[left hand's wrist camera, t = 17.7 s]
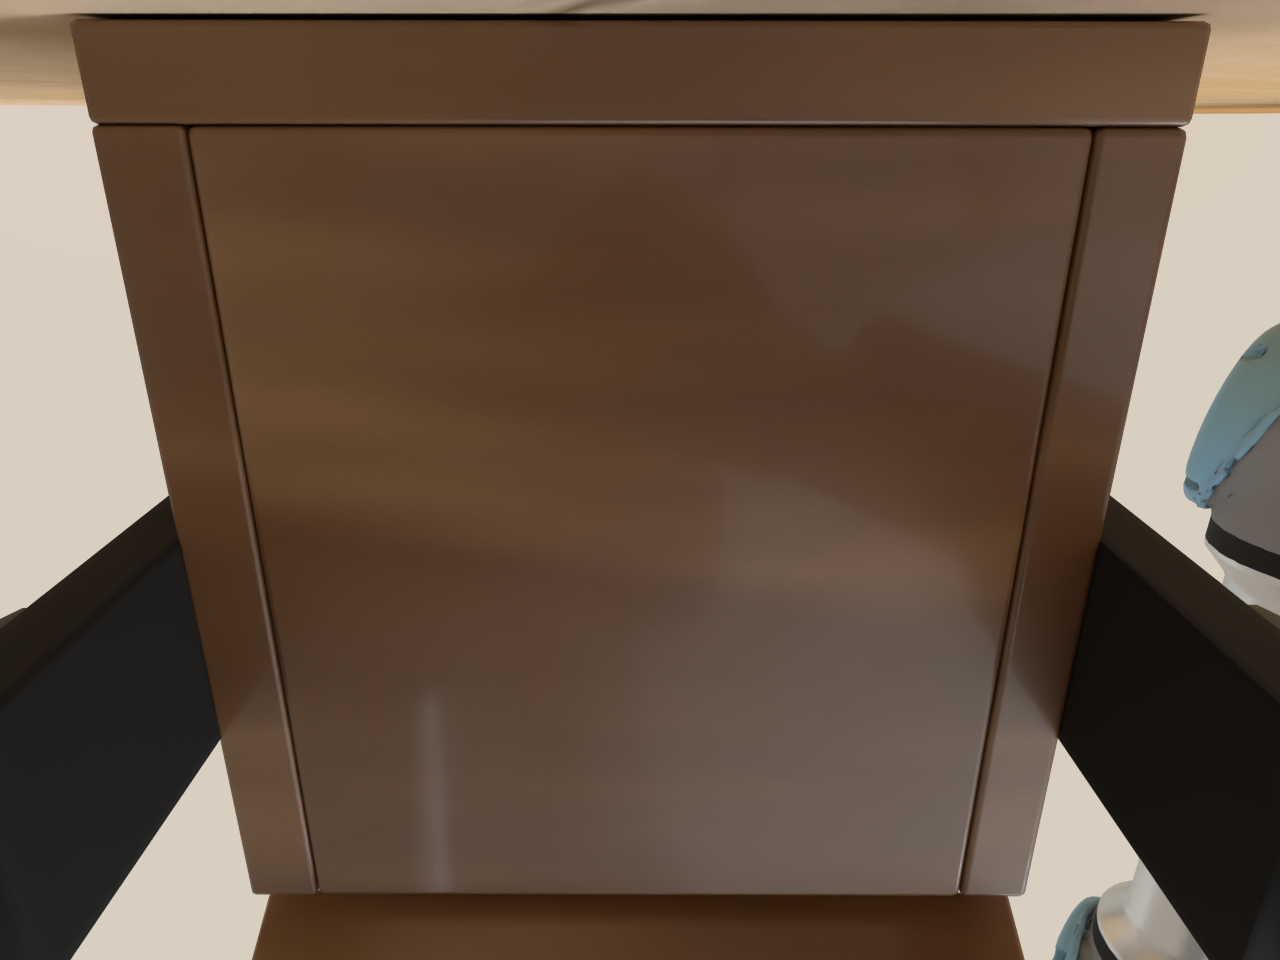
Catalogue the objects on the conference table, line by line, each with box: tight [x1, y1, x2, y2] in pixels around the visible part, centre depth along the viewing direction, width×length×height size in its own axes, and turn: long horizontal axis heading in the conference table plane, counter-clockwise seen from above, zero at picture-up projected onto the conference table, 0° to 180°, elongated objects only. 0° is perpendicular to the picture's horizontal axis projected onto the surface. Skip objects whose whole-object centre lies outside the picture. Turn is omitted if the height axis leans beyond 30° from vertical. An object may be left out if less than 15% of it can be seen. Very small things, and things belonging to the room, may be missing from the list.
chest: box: [71, 19, 1211, 896], centre depth 16 cm, size 14×10×10 cm
